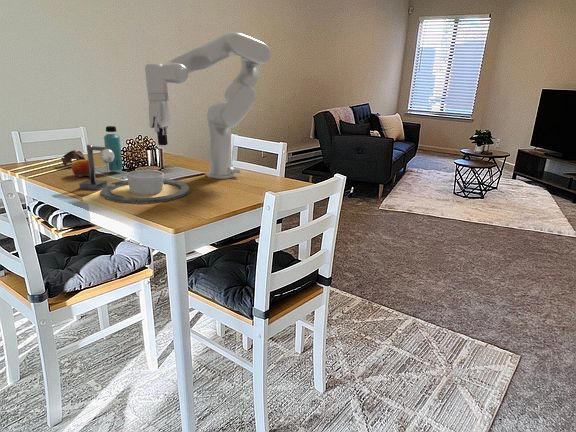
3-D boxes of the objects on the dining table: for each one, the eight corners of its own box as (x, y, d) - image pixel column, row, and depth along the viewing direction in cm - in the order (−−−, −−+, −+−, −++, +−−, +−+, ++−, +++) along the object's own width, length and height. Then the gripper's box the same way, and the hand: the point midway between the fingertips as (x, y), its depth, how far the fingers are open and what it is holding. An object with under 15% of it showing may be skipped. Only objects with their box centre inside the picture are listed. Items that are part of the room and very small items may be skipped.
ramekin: (171, 189, 161) (170, 171, 159) (152, 198, 149) (151, 179, 147) (141, 185, 164) (139, 168, 162) (120, 194, 152) (118, 175, 150)
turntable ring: (199, 183, 170) (199, 180, 169) (171, 206, 141) (171, 202, 140) (126, 178, 172) (126, 175, 172) (84, 199, 143) (84, 195, 143)
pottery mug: (86, 169, 186) (74, 154, 182) (68, 177, 188) (55, 163, 183) (93, 157, 196) (81, 143, 192) (76, 165, 197) (64, 151, 193)
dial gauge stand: (120, 186, 161) (117, 145, 156) (111, 191, 154) (107, 148, 149) (90, 184, 162) (85, 143, 157) (79, 188, 155) (74, 146, 150)
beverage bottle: (117, 174, 178) (113, 127, 171) (103, 173, 179) (99, 126, 172) (126, 171, 184) (122, 126, 177) (112, 170, 185) (108, 124, 178)
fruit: (77, 176, 166) (72, 157, 167) (73, 182, 172) (68, 164, 173) (98, 174, 171) (93, 156, 172) (93, 180, 178) (89, 162, 178)
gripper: (156, 95, 167) (161, 141, 174) (140, 99, 153) (146, 148, 160) (174, 96, 167) (178, 141, 173) (160, 99, 153) (165, 148, 159)
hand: (163, 144), depth 166 cm, fingers closed
